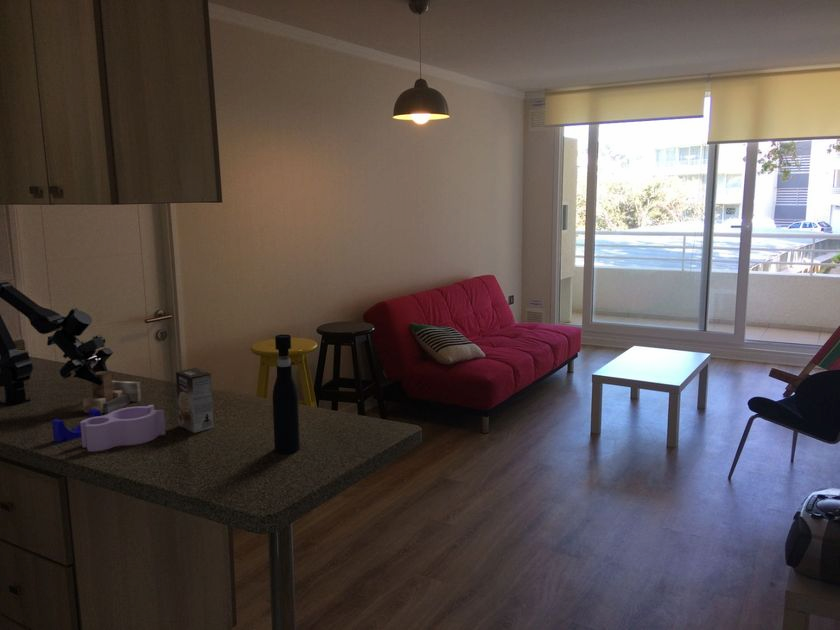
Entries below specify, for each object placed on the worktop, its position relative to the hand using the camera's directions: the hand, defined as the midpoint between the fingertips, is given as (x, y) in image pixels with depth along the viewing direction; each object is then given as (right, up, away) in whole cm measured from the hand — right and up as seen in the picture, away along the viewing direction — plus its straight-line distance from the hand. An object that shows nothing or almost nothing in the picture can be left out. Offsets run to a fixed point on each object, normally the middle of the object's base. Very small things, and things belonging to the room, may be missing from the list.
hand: (105, 382), depth 210 cm
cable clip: (+3, -13, -22) cm, 26 cm away
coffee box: (+33, -11, -16) cm, 39 cm away
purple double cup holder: (+17, -13, -26) cm, 34 cm away
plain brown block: (-1, -7, +2) cm, 7 cm away
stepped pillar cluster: (-1, -8, +3) cm, 8 cm away
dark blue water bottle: (+62, -14, -33) cm, 72 cm away
